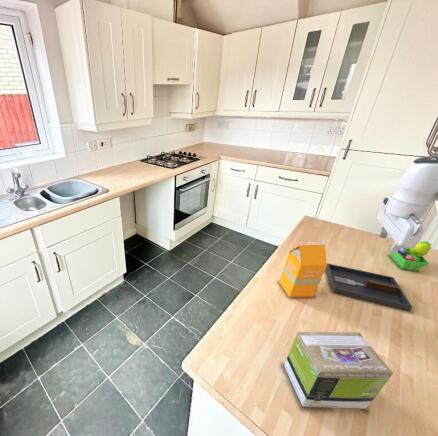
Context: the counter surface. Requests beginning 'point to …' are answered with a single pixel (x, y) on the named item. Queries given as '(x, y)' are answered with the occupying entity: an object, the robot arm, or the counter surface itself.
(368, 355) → the tea box
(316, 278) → the orange juice
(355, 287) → the tray
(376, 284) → the fork
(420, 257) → the fruit basket
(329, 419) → the counter surface
